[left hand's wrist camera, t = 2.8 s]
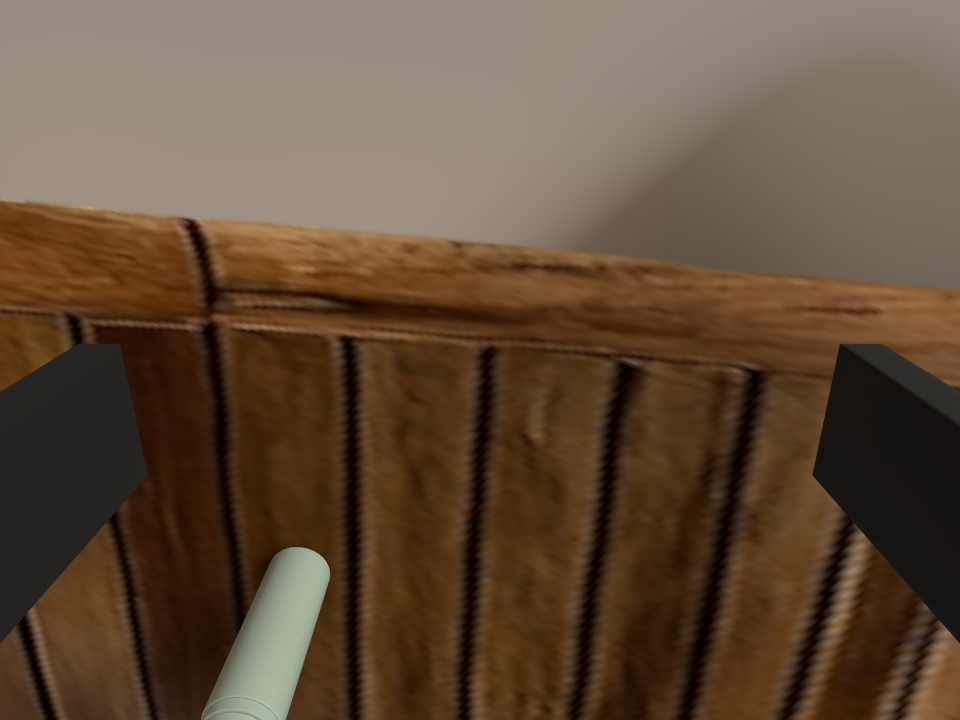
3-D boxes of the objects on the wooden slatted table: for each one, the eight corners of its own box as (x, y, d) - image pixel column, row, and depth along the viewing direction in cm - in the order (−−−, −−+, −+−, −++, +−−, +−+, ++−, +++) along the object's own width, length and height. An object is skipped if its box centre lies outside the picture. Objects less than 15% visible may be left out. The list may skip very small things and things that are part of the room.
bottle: (285, 536, 47) (174, 790, 30) (340, 563, 48) (263, 825, 31) (259, 579, 48) (137, 845, 31) (313, 604, 49) (223, 877, 32)
